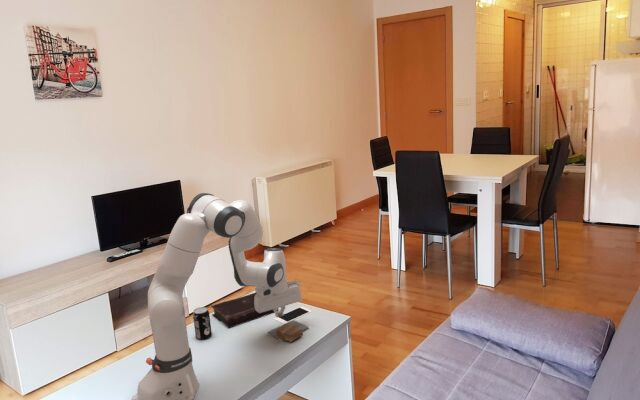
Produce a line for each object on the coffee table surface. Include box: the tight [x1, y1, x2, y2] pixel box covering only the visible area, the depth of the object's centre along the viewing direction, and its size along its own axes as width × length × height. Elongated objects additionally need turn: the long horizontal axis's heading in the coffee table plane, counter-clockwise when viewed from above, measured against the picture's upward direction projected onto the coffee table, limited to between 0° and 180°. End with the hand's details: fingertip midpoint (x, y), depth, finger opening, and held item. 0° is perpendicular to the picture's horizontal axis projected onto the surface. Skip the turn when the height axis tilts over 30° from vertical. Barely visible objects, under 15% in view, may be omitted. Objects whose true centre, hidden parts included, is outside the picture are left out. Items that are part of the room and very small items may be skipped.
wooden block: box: [276, 323, 304, 343], centre depth 208 cm, size 3×7×8 cm
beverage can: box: [192, 306, 213, 341], centre depth 213 cm, size 7×7×12 cm
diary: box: [210, 292, 279, 329], centre depth 233 cm, size 19×25×5 cm
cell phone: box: [273, 305, 313, 325], centre depth 228 cm, size 8×16×1 cm, turn 132°
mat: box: [267, 319, 310, 342], centre depth 214 cm, size 14×10×1 cm
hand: (279, 316), depth 214 cm, fingers closed
